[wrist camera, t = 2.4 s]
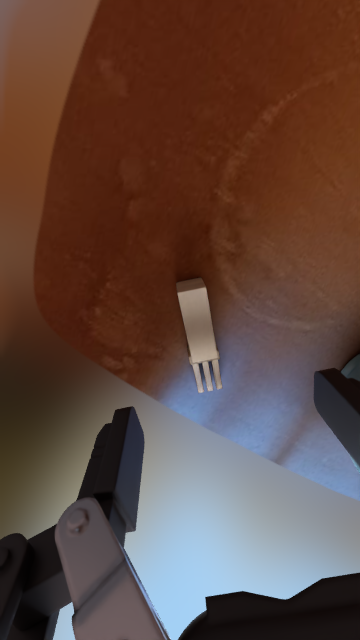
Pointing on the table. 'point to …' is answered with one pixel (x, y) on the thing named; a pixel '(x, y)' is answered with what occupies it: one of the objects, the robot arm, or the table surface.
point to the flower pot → (354, 369)
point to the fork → (199, 331)
